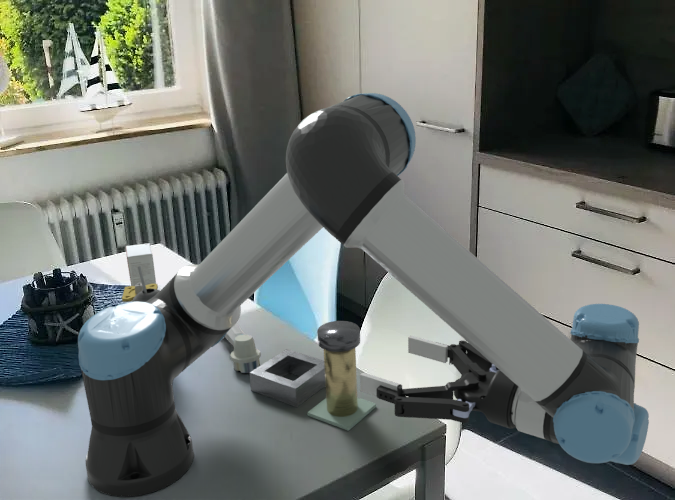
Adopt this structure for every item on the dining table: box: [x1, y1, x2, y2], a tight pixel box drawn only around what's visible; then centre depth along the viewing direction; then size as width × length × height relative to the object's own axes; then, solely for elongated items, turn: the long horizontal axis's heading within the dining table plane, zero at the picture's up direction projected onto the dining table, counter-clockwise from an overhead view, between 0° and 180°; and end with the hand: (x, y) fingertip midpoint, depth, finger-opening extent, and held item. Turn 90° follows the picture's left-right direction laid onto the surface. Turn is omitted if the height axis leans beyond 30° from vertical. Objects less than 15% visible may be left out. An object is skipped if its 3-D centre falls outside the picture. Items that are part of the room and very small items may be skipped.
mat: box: [306, 396, 377, 431], centre depth 117 cm, size 8×8×1 cm
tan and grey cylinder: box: [316, 320, 361, 417], centre depth 114 cm, size 7×7×14 cm
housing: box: [249, 348, 326, 408], centre depth 124 cm, size 10×10×4 cm
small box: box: [125, 242, 157, 286], centre depth 166 cm, size 8×6×10 cm
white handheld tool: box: [224, 322, 261, 374], centre depth 139 cm, size 5×7×25 cm
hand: (386, 361), depth 108 cm, fingers open, 13 cm apart
